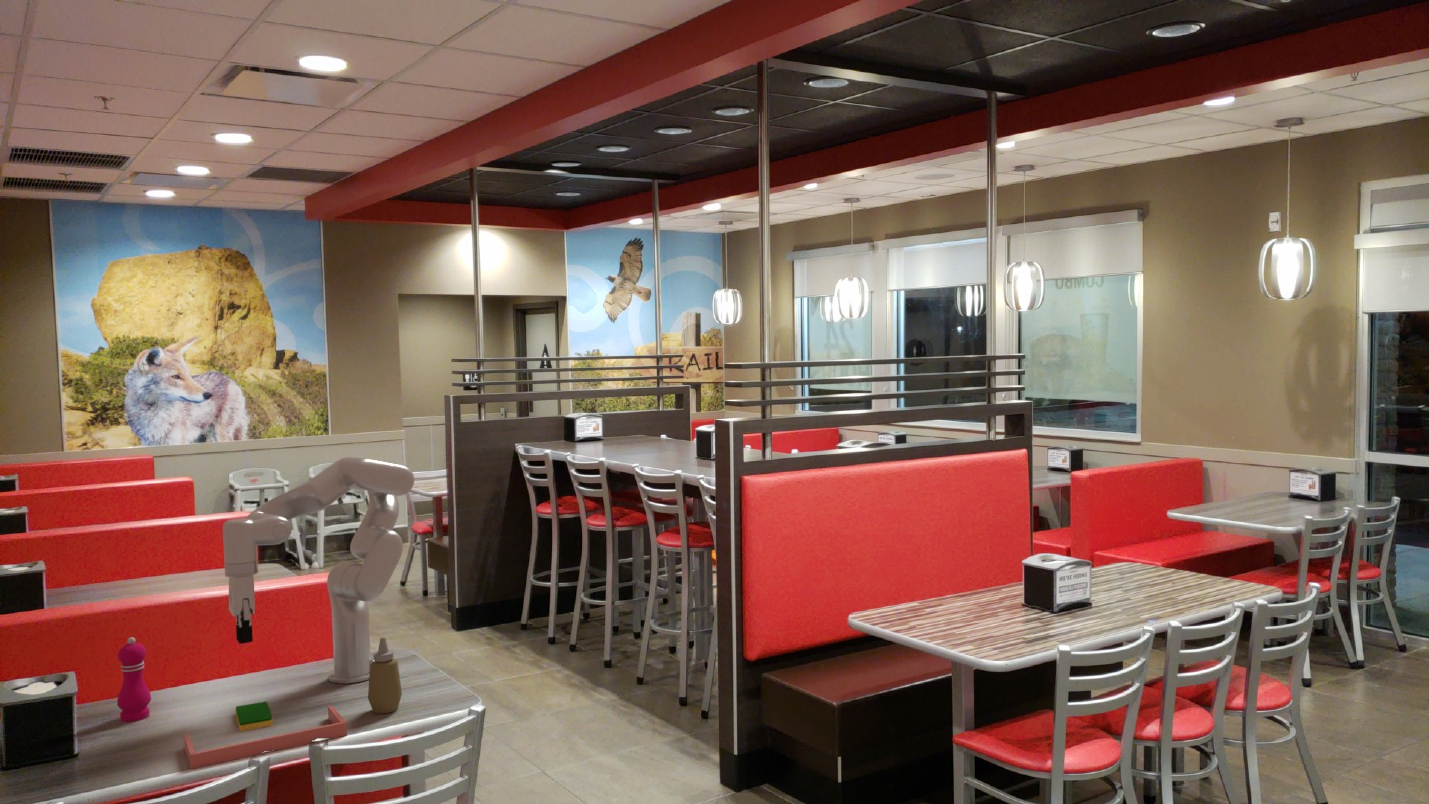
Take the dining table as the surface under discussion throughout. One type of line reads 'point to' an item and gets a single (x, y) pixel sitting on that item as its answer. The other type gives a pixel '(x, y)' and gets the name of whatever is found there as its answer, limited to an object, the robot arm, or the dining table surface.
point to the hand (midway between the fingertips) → (244, 640)
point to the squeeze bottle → (384, 681)
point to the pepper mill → (133, 683)
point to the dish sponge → (253, 716)
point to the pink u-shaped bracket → (265, 743)
